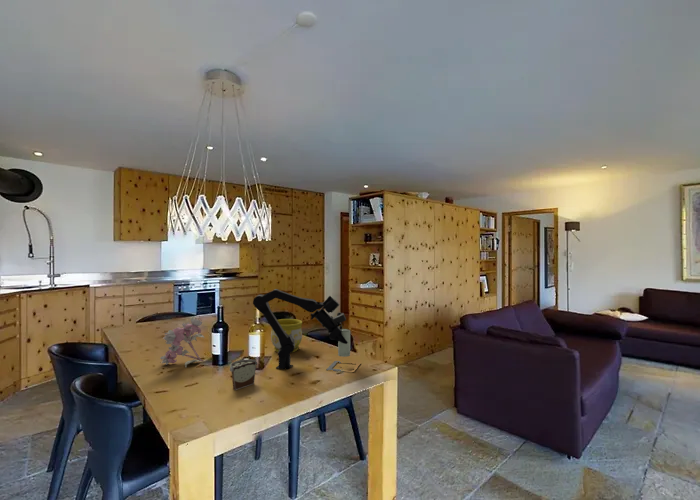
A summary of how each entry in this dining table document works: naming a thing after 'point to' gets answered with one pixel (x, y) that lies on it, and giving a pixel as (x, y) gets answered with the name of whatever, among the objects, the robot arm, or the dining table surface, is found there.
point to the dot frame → (333, 366)
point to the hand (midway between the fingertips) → (347, 341)
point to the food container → (243, 373)
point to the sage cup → (344, 348)
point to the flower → (179, 335)
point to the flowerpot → (288, 332)
